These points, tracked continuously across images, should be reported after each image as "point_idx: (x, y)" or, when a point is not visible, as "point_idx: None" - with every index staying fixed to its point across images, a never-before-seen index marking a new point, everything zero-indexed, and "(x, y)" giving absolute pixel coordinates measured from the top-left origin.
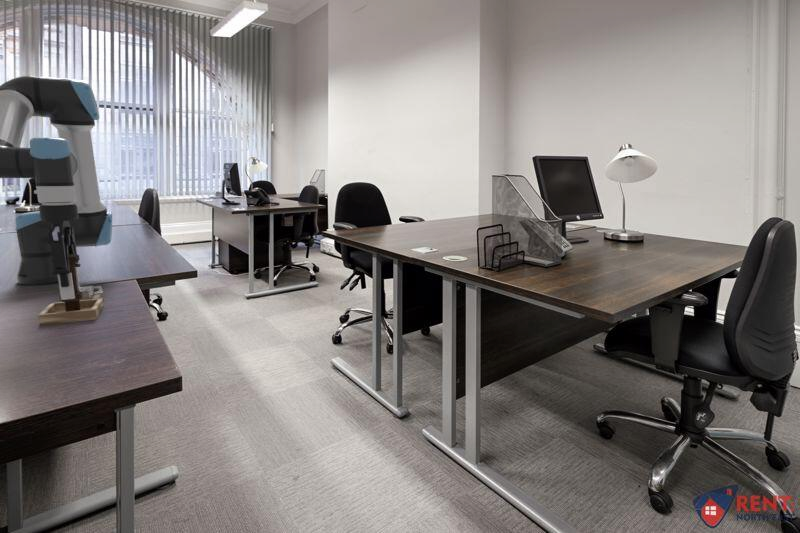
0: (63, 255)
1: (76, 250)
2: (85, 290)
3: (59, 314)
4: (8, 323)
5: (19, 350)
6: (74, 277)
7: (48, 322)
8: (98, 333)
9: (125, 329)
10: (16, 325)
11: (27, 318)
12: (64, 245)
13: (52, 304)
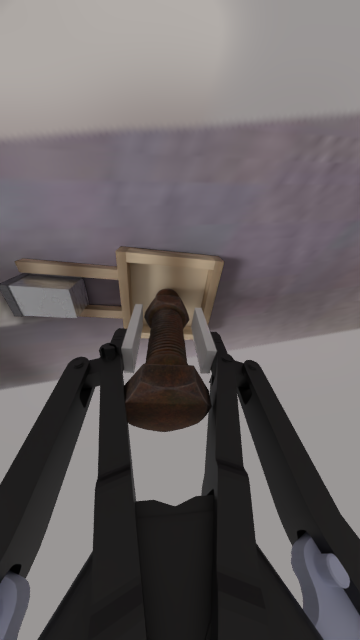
0: (286, 421)
1: (45, 408)
2: (65, 295)
3: (209, 316)
4: None
5: (299, 330)
6: (176, 334)
7: None
8: (314, 246)
9: (336, 192)
10: None
11: None
12: (295, 476)
13: None
